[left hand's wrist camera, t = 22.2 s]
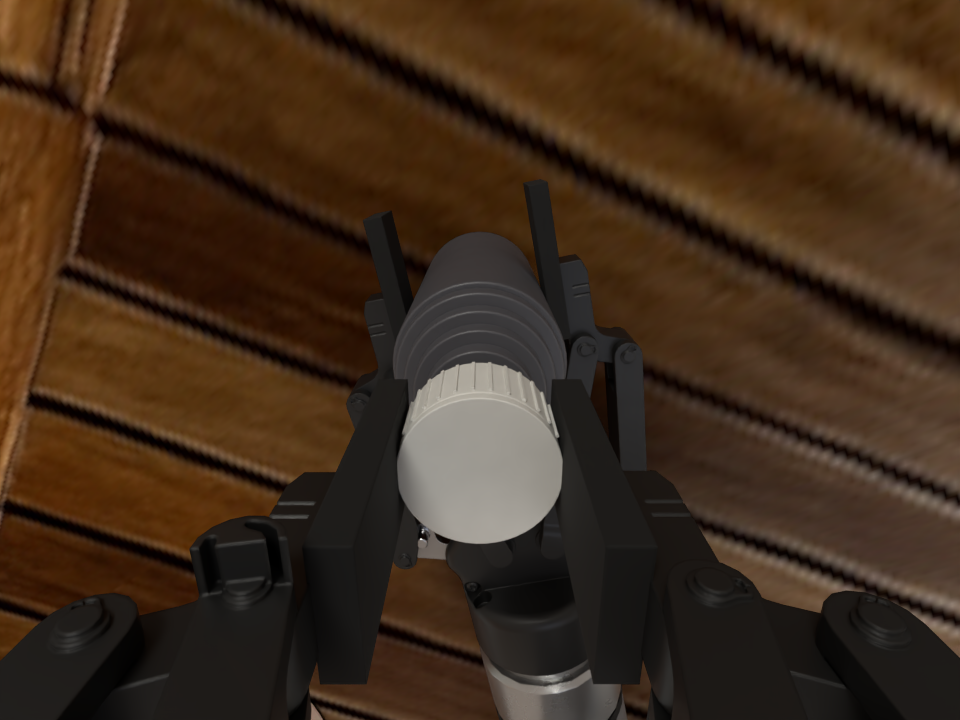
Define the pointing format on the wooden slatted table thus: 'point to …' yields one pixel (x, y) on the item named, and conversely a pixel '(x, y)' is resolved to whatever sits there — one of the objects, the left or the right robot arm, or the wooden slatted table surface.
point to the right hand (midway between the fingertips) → (455, 199)
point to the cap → (479, 454)
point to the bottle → (479, 316)
